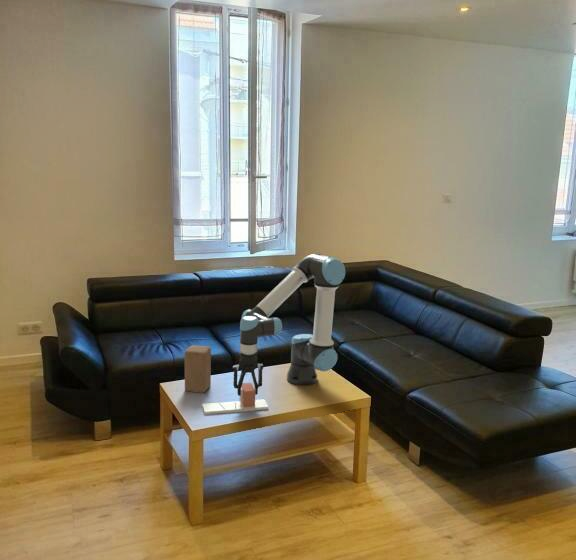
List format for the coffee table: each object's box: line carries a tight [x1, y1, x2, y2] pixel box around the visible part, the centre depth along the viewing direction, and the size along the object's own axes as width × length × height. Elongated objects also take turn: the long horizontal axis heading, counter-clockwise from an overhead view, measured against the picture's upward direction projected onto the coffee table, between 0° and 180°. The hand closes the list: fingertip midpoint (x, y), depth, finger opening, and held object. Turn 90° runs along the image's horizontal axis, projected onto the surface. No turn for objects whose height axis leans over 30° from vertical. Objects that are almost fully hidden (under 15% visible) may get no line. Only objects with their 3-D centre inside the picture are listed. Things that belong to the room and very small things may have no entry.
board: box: [202, 398, 269, 415], centre depth 255 cm, size 28×8×1 cm, turn 105°
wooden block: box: [184, 344, 212, 394], centre depth 272 cm, size 10×10×20 cm
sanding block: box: [241, 382, 256, 409], centre depth 255 cm, size 5×9×8 cm, turn 15°
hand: (247, 401), depth 256 cm, fingers closed on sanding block, 5 cm apart
